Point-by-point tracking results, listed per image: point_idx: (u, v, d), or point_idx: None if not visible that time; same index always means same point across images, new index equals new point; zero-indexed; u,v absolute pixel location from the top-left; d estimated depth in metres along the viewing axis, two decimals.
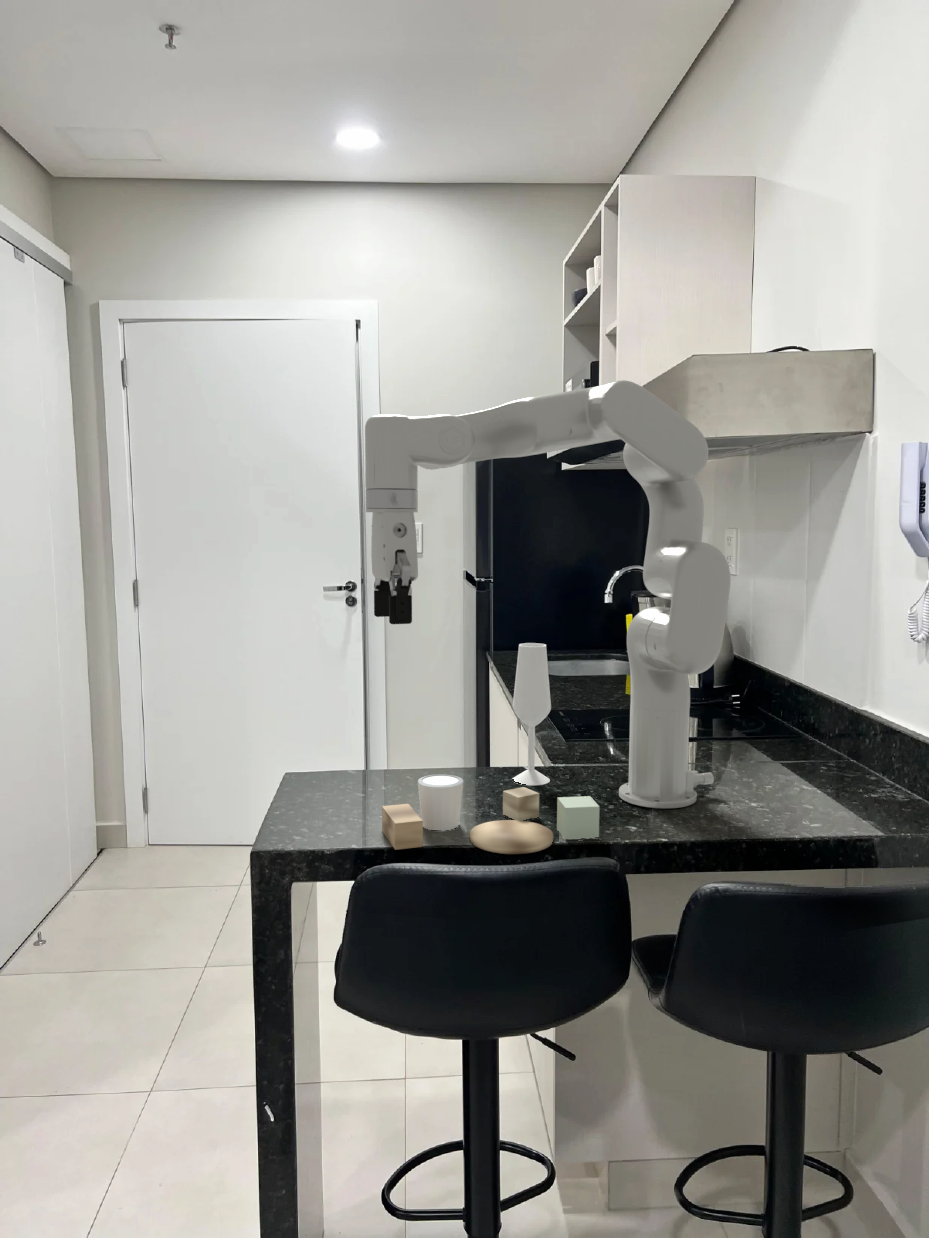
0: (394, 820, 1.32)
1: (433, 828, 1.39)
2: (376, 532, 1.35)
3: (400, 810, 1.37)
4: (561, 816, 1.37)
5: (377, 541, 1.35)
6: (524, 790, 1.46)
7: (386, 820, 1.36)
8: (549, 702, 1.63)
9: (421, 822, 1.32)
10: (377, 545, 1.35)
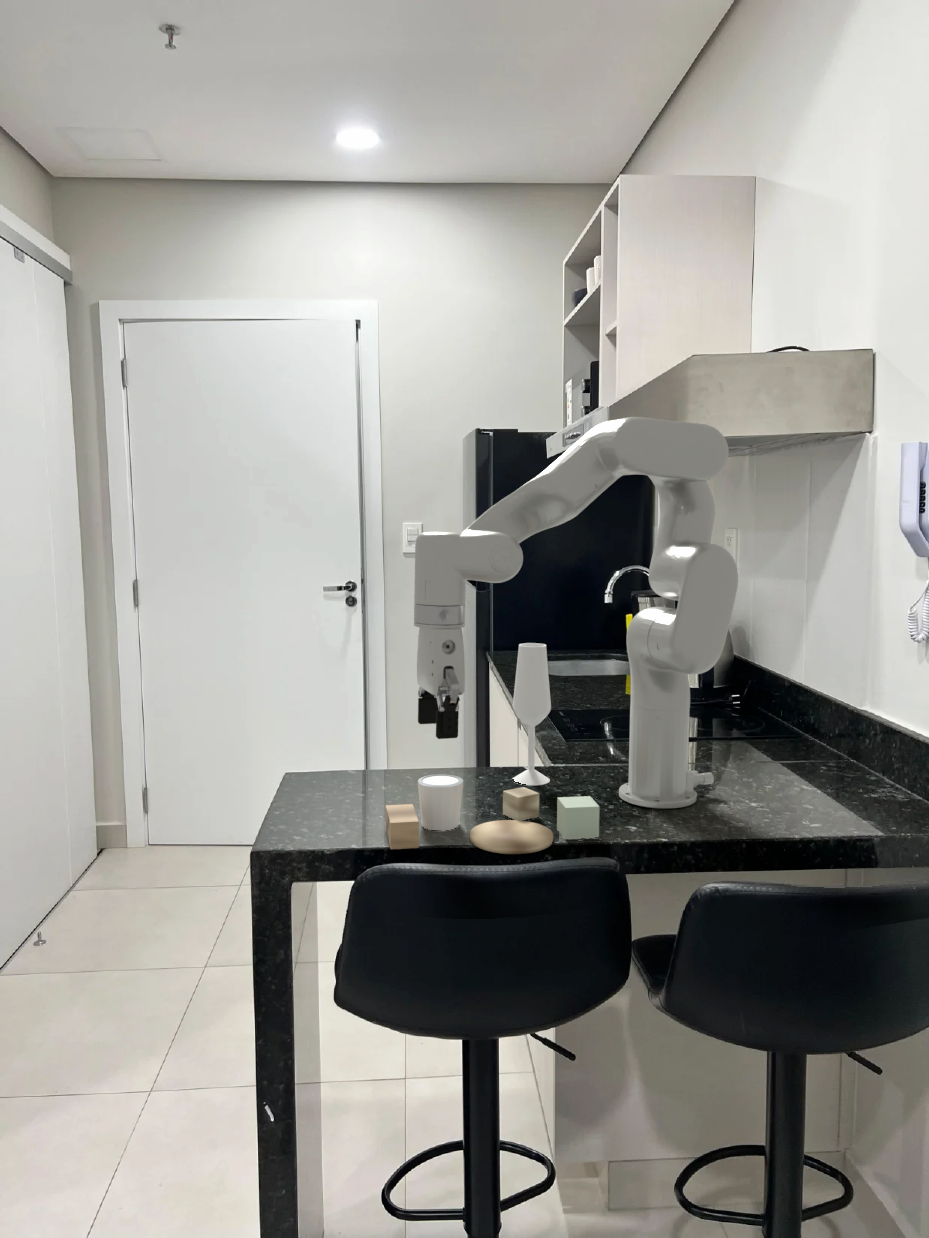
0: (391, 819, 1.33)
1: (433, 828, 1.39)
2: (424, 646, 1.37)
3: (401, 810, 1.37)
4: (561, 816, 1.37)
5: (425, 655, 1.37)
6: (524, 790, 1.46)
7: (387, 819, 1.37)
8: (549, 702, 1.63)
9: (417, 823, 1.32)
10: (425, 659, 1.37)
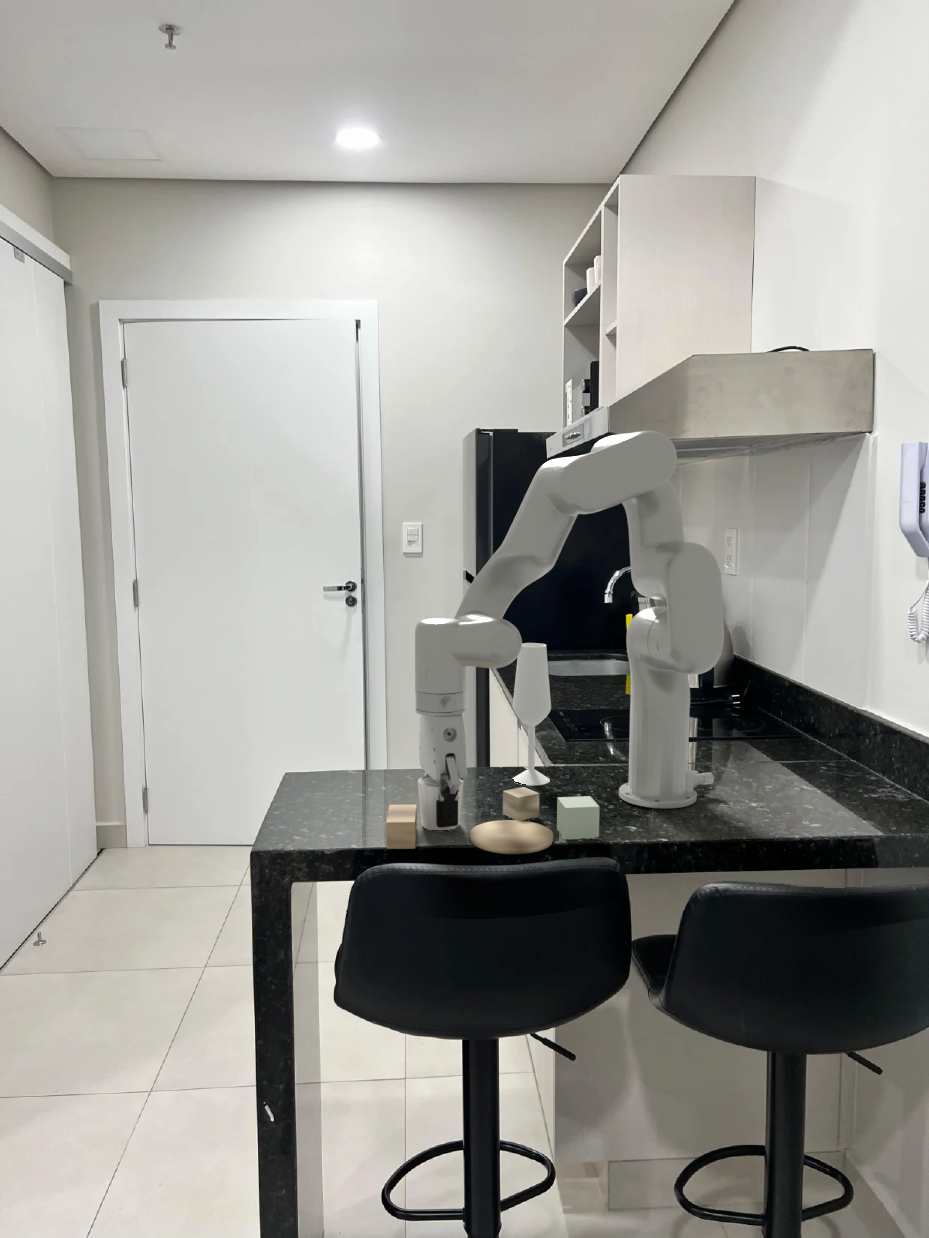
0: (388, 819, 1.33)
1: (433, 828, 1.39)
2: (426, 732, 1.39)
3: (402, 810, 1.37)
4: (561, 816, 1.37)
5: (427, 741, 1.38)
6: (524, 790, 1.46)
7: None
8: (549, 702, 1.63)
9: (413, 823, 1.32)
10: (427, 745, 1.38)
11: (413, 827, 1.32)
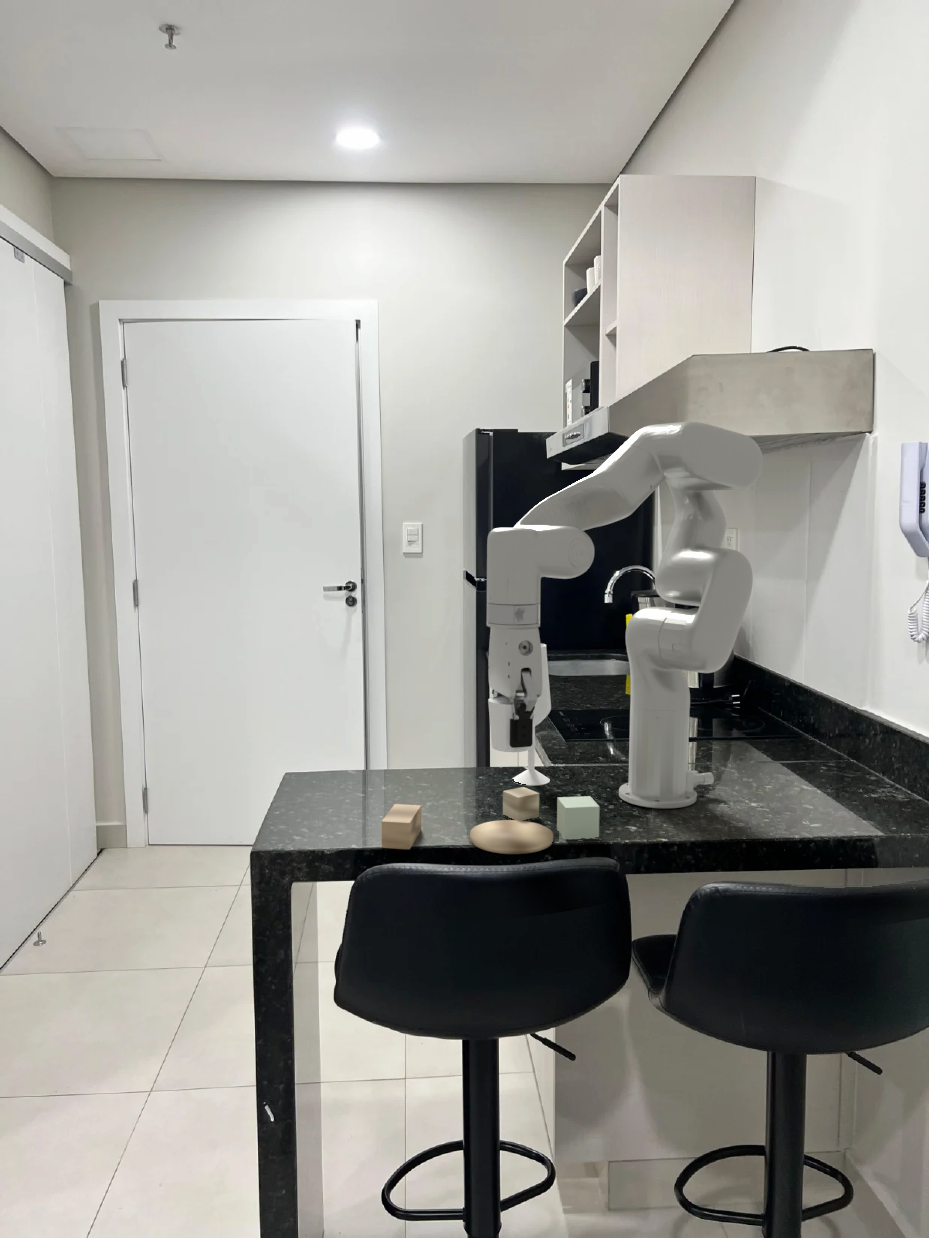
0: (385, 818, 1.33)
1: (506, 749, 1.32)
2: (498, 647, 1.31)
3: (404, 810, 1.37)
4: (561, 816, 1.37)
5: (499, 656, 1.31)
6: (524, 790, 1.46)
7: None
8: (549, 702, 1.63)
9: (408, 824, 1.31)
10: (499, 660, 1.31)
11: (408, 828, 1.31)
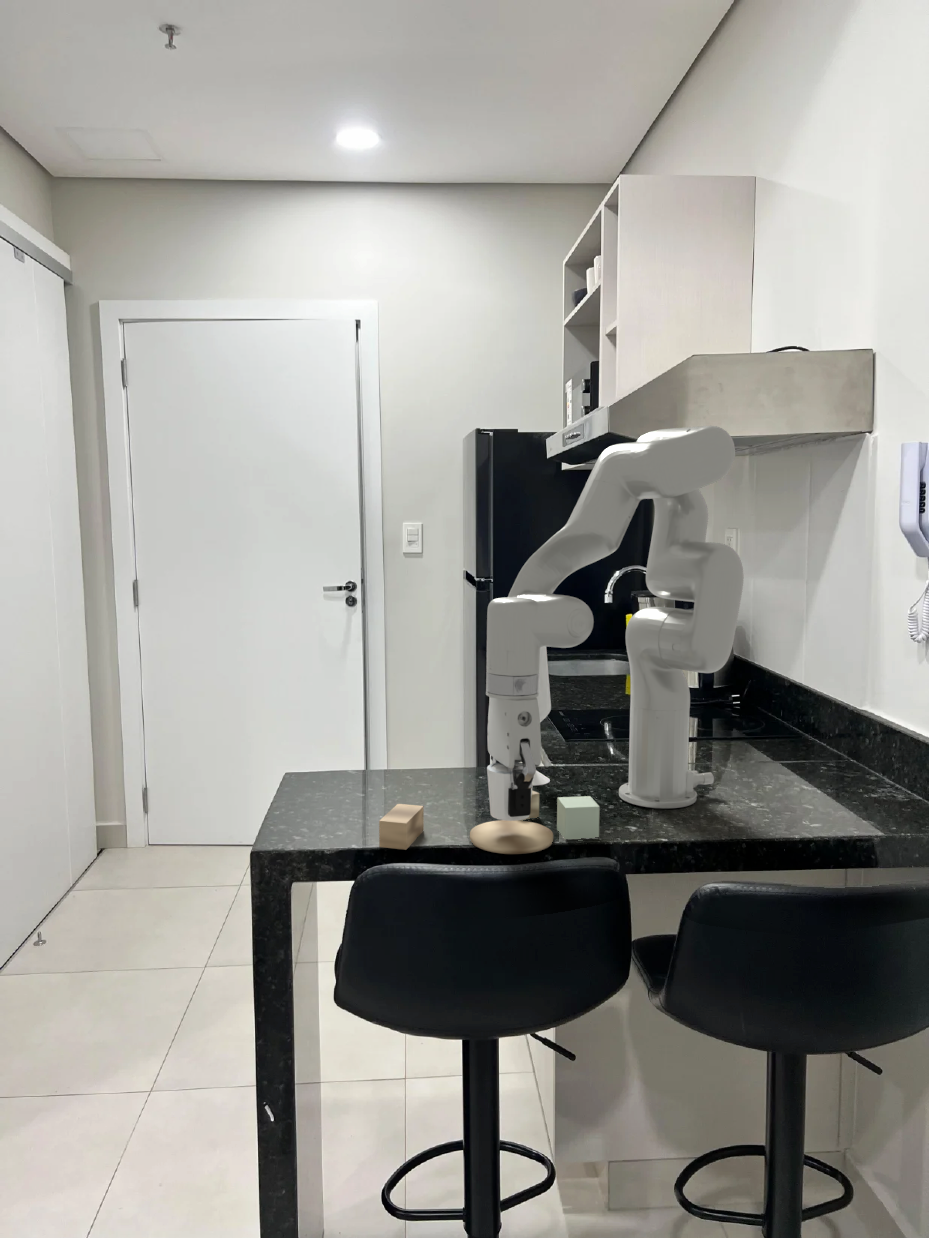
0: (383, 818, 1.33)
1: (504, 817, 1.33)
2: (497, 716, 1.32)
3: (405, 810, 1.37)
4: (561, 816, 1.37)
5: (499, 726, 1.32)
6: None
7: None
8: (549, 702, 1.63)
9: (405, 824, 1.31)
10: (498, 730, 1.32)
11: (405, 828, 1.31)
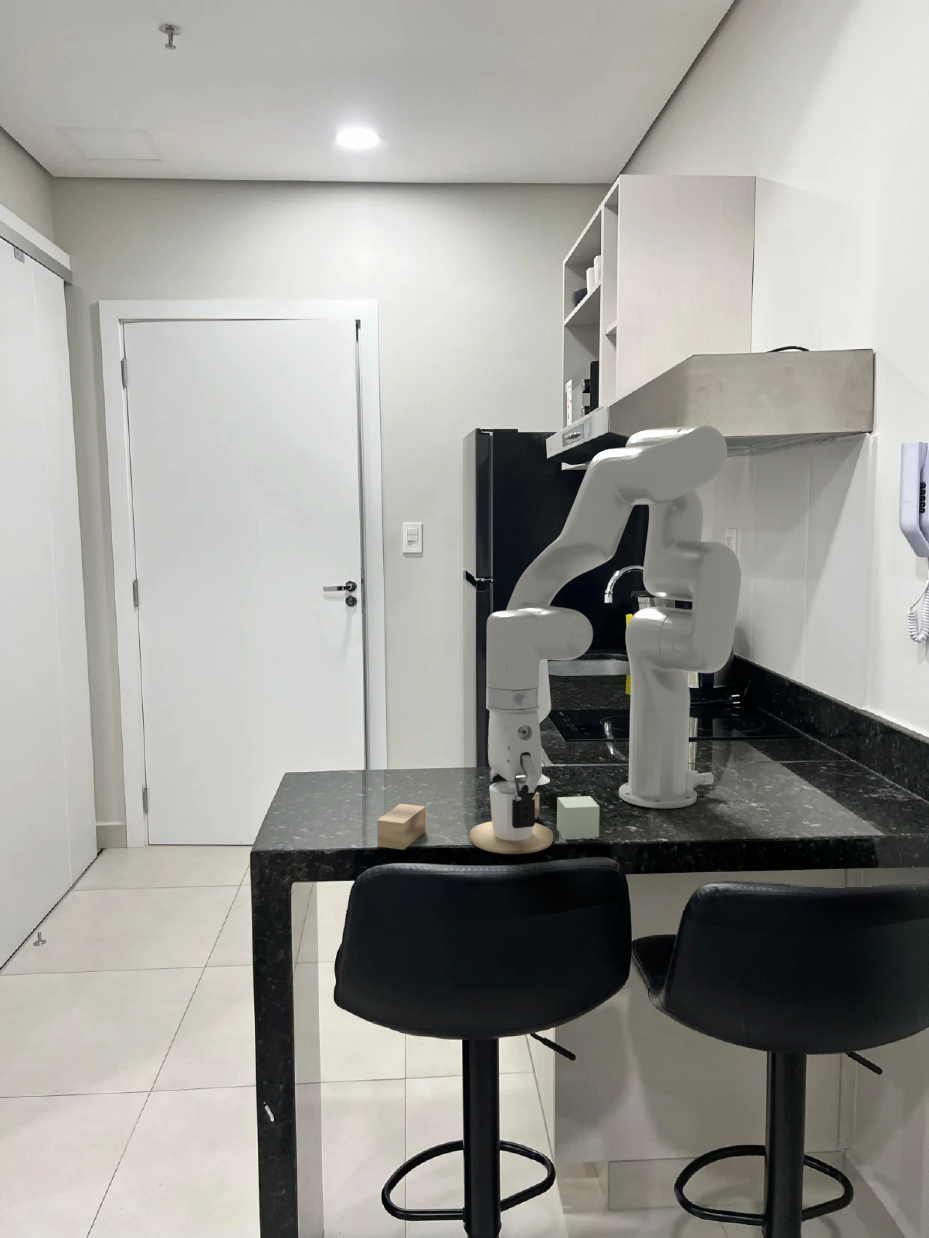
0: (382, 817, 1.34)
1: (507, 837, 1.33)
2: (498, 730, 1.32)
3: (406, 810, 1.37)
4: (561, 816, 1.37)
5: (499, 739, 1.32)
6: None
7: None
8: (549, 702, 1.63)
9: (402, 825, 1.31)
10: (499, 743, 1.32)
11: (402, 828, 1.31)
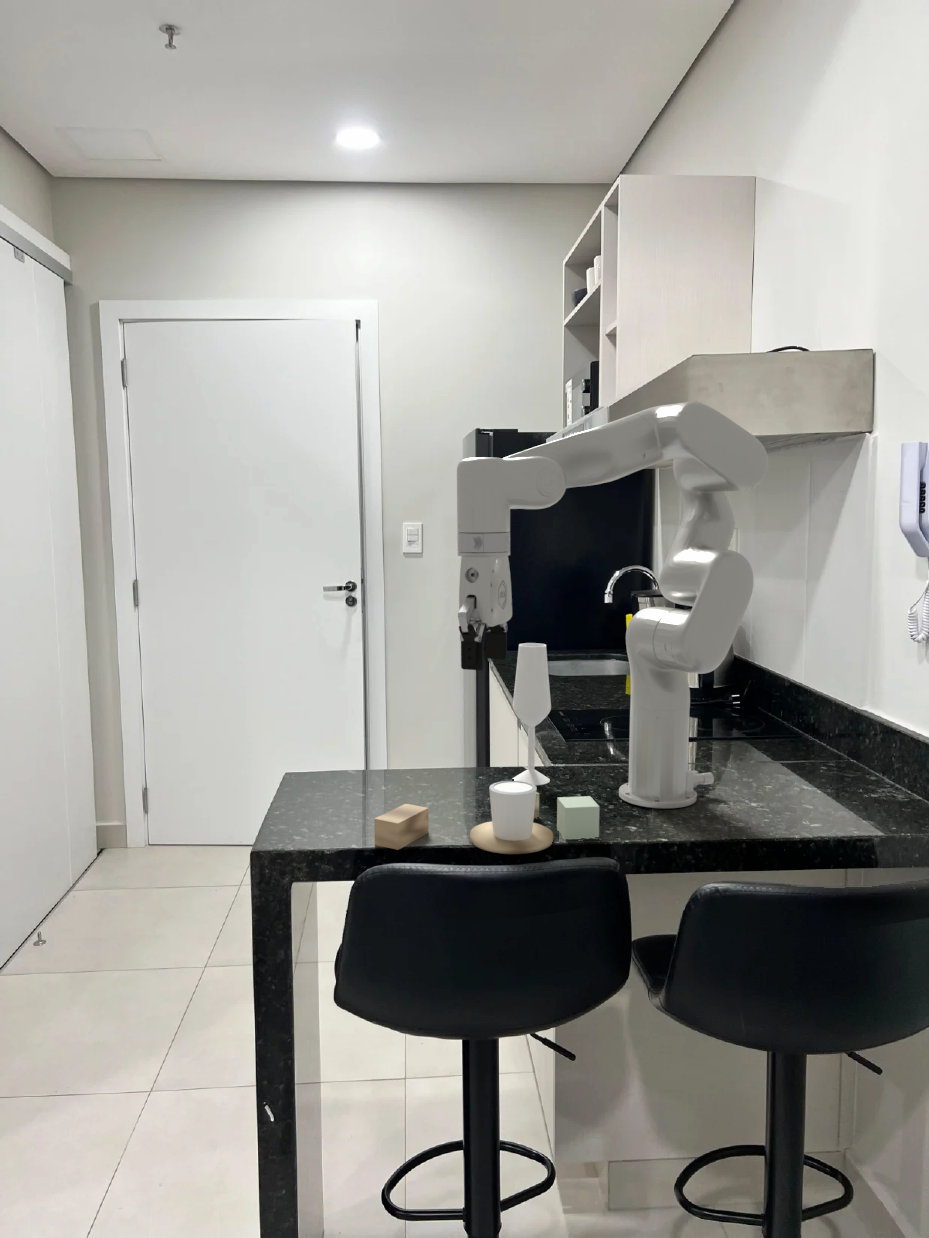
0: (380, 816, 1.34)
1: (507, 837, 1.33)
2: None
3: (407, 810, 1.37)
4: (561, 816, 1.37)
5: None
6: None
7: None
8: (549, 702, 1.63)
9: (396, 824, 1.31)
10: None
11: (396, 828, 1.31)
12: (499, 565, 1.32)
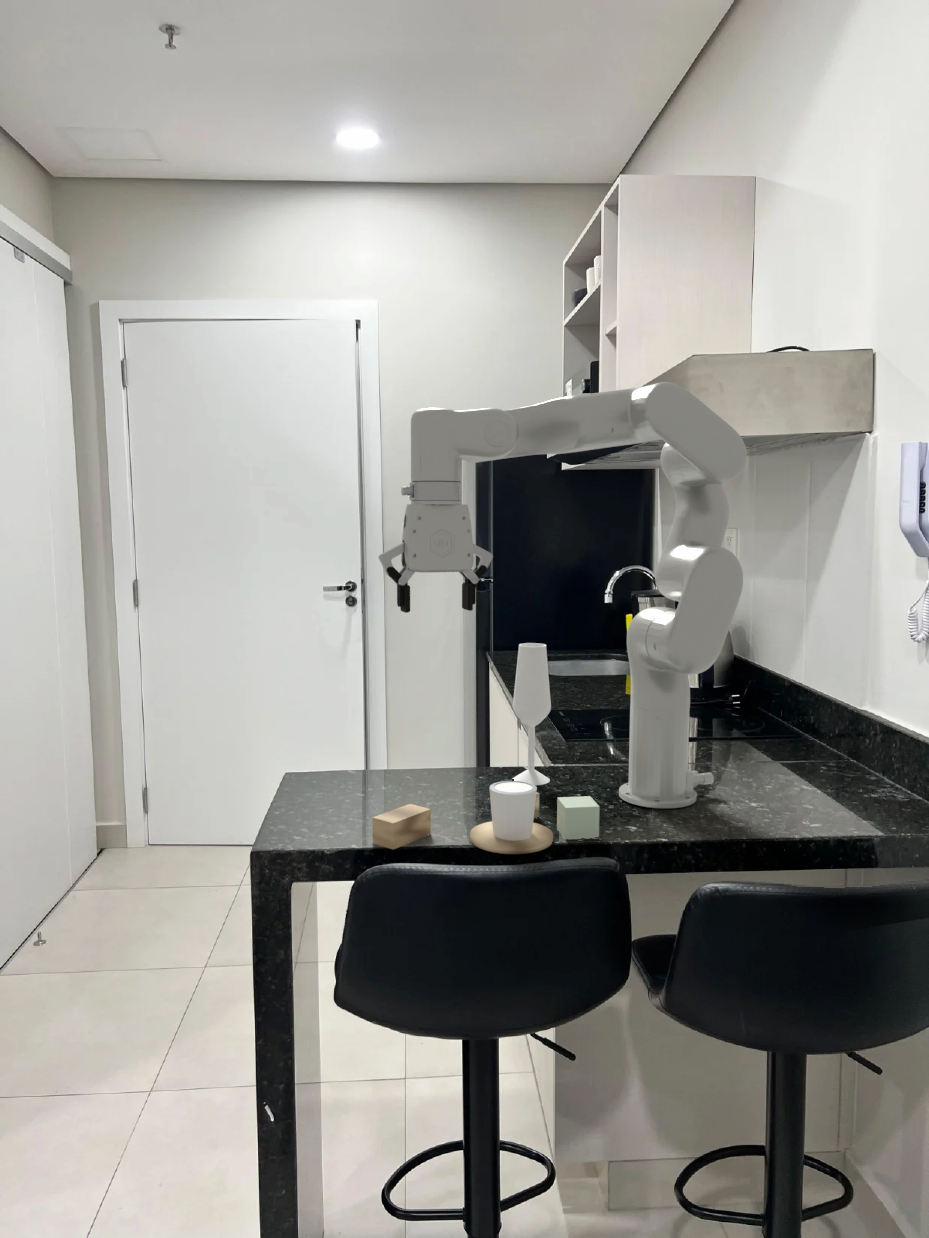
0: (379, 815, 1.34)
1: (507, 837, 1.33)
2: None
3: (408, 810, 1.37)
4: (561, 816, 1.37)
5: None
6: None
7: None
8: (549, 702, 1.63)
9: (392, 824, 1.31)
10: None
11: (392, 828, 1.31)
12: (435, 514, 1.36)
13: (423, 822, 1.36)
